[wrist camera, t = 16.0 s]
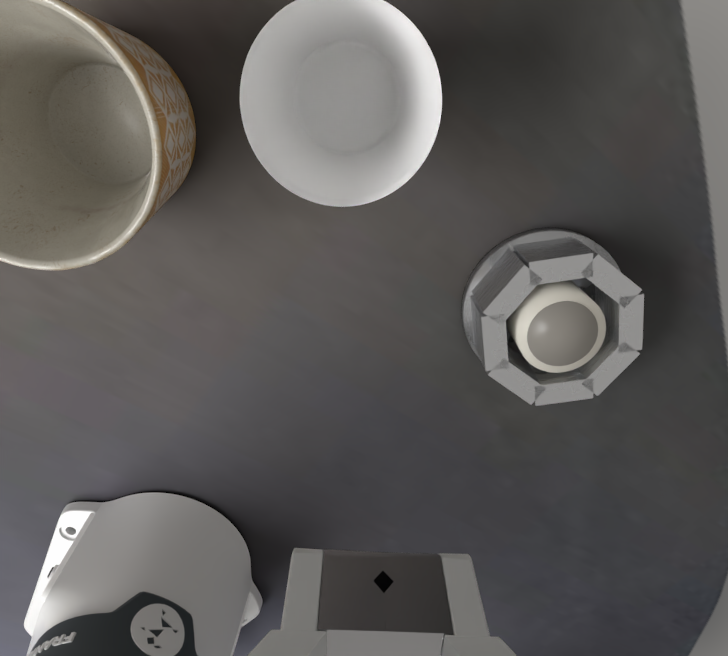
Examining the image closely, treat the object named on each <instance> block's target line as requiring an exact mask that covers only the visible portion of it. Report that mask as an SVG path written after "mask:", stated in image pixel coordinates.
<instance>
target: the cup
mask: <svg viewBox="0 0 728 656" xmlns="http://www.w3.org/2000/svg"><path fill="white" fill-rule="evenodd" d="M240 111H241V117H242V122H243V126H244V130H245V133H246V136H247V139H248V141H249V143H250V145H251V148H252V150H253V151H254V153H255V155H256V157H257V158H258V160H259V161H260V163H261V164H262V166H263V167H264V168H265V169H266V171H267V172H268V173H269V174H270V175H271V176H272V177H273V178H274V179H275V180H276V181H277V182H278V183H280V184H281V185H282V186H283V187H285V188H286V189H288V190H289V191H291V192H292V193H294V194H296V195H298V196H299V197H301V198H304V199H306V200H308V201H311V202H315V203H318V204H322V205H327V206H336V207H348V206H357V205H363V204H367V203H370V202H373V201H376V200H379V199H381V198H383V197H385V196H387V195H389V194H391V193H392V192H394V191H395V190H397V189H398V188H400V187H401V186H402V185H403V184H405V183H406V182H407V181H408V180H409V179H410V178H411V177H412V176H413V175H414V174H415V173H416V172H417V170H418V169H419V168H420V166H421V165H422V164H423V162H424V161H425V159H426V157H427V156H428V154H429V152H430V150H431V148H432V146H433V144H434V141H435V138H436V135H437V132H438V128H439V124H440V119H441V112H442V88H441V80H440V76H439V71H438V67H437V64H436V61H435V58H434V56H433V54H432V51H431V49H430V47H429V45H428V44H427V42H426V40H425V38H424V37H423V35H422V34H421V32H420V31H419V30H418V29H417V27H416V26H415V25H414V24H413V23H412V22H411V21H410V20H409V19H408V18H407V17H406V16H405V15H404V14H403V13H402V12H400V11H399V10H398V9H397V8H395V7H394V6H392V5H391V4H389V3H387V2H385V1H383V0H295V1H294V2H292V3H290V4H289V5H287V6H285V7H284V8H283V9H281V10H280V11H279V12H277V13H276V14H275V15H274V16H273V17H272V18H271V19H270V20H269V21H268V22H267V23H266V25H265V26H264V27H263V28H262V30H261V31H260V32H259V34H258V35H257V37H256V39H255V40H254V42H253V44H252V46H251V48H250V50H249V52H248V55H247V57H246V61H245V64H244V67H243V71H242V76H241V83H240Z"/></svg>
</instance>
